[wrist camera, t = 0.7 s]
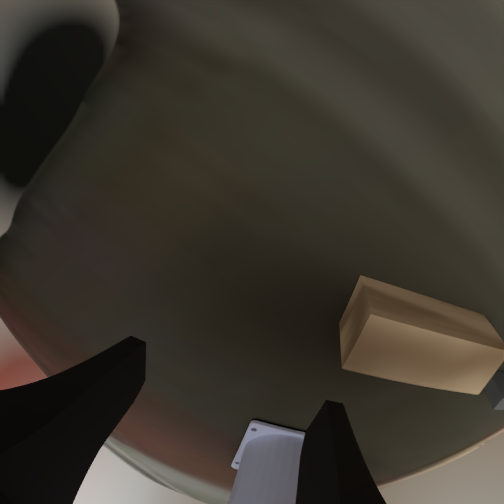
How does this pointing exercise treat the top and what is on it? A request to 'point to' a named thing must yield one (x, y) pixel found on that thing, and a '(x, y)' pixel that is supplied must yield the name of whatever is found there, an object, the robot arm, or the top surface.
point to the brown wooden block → (417, 339)
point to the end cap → (496, 390)
